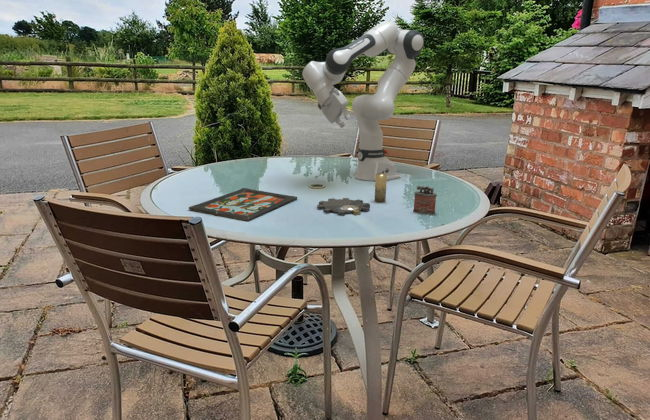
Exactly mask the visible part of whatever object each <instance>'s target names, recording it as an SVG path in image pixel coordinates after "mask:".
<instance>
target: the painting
mask: <svg viewBox="0 0 650 420" xmlns="http://www.w3.org/2000/svg"><path fill="white" fill-rule="evenodd" d="M297 200H298V196H295V195H294V196H293V195H287V194H282V193H275V192H271V191H264V190H259V189H252V188H247V187H242V188H240V189H238V190H236V191H232V192H229V193H227V194H224V195H221V196H218V197H215V198H212V199H209V200H206V201H203V202H200V203H198V204H197V203H196V204H195V205H191V206H188V209H189V211H195V212H198V213H203V214H208V215H209V214H210V215H213V216H215V217H218V216H219V217H225V218H229V219H234V220H239V221H244V222H249V221H252V220H254V219H256V218H259V217H260V216H263V215H265V214H268V213H271V212H273V211H276V210H278V209H280V208H282V207H284V206H285V207H286V205H289V204H291V203H293V202H295V201H297Z"/></svg>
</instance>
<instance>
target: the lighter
mask: <svg viewBox="0 0 650 420" xmlns="http://www.w3.org/2000/svg"><path fill="white" fill-rule="evenodd" d="M416 190H418V191H414V202H413V209H412V210H413V213H416V214H422V215H436V201H437V193H436V192H434V191H435V190H434V187H431V186H428V185H426V186H424V185H417V186H416Z"/></svg>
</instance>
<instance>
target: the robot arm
mask: <svg viewBox="0 0 650 420" xmlns="http://www.w3.org/2000/svg"><path fill="white" fill-rule="evenodd" d="M424 46H425V37H424V34H423V33H421V32H420V31H418V30H415V29H399V28H398V26H397V24H396V23H395V22H393V21H392V20H386V21H383V22H381V23H379V24H376V25H375V26H373V27H371V28H370V29H369V30H368V31H365V33H364V34H362V35H361V36H360V37H359V38H356V39H355V40H354V41H351V42H350V43H349V44H347V45H345V46H342V47H338V48H334V49H332V50H329V52H328V53H327V55H326V58H325V60H324V61H314V60H311V61H309V62H308V63H306V65H305V66H304V67H303V69H302V73H301V76H302V77H303V80H304V81H305V83H306V85H307V86H308V88H309V89H310V90H311V91H312V92H313V93H314V96H315V98H316V101H317V107H318V109H319V111H322V114H323V115H324V116H325V118H326V119H327V121H328V122H329V123H331V124H333V123H336V125H338V126H339V127H340V128H341V129H343V128H344V127H345V126H346V124H345V123H344V121H342V120H341V118H340V117H341V116H342V114H343V115H344V118H345V120H346V121H348V120H349V119H351V115H350V114H349V110H348V108H347V106H348V104H349V101H348V99H347V98H346V97H345V95H344V94H343V93H342V91H340V90H339V89H337V88H336V87H335V85H337V84H339V83H340V82H341V81H342V80H343V78H344V77H345V74H346V72H347V70H348V69H349V67H350V65H351V64H352V62H353V61H354V60H356V59H357V58H358V57H360V56H361V55H365V56H367V57H369V58H374V57H376V56H378V55H380V54H382V53H383V52H384V51H385V52H386V53H387V54H390V55H394V58H393V61H392V62H391V64H390V65H389V66H388V67H387V68H386V70H385V71H384V72H383V74H382V75H381V76H380V78H378V80H377V90H376V91H375V92H374V93H373V94H360V95H358V96H356V97H355V98H354V99H353V100H352V104H351V109H352V112H353V113H354V115H355V117H356V121H357V124H358V130H359V140H358V141H359V142H358V143H359V145H358V150H357V159H358V161H357V168H356V171H355V175H354V177H355V179H358V180H361V181H362V180H363V181H371V182H375V179H376V174H377V173H384V174H387V181H389V180H395V179H399V178H401V175H400V173H397V169H396V165H395V163H394V162H393V161H392V160H390V159H389V158H388V157H387V156H386V155H389V153H390V150H389V149H384V148H383V143H384V132H383V130H382V129H381V126H380V123H379V121H380V122H381V121H387V120H389V119H390V118H392V116H393V115H394V113H395V108H396V107H395V100H396V97H398V94H399V93H400V92H401V90H403V87H404V86H405V85H406V83H408V81H409V79H410V78H411V76H412V74H413V72H414V71H415V68H416V65H417V62H416V60H415V59H417V58H418V57H420V53H421V52H422V50H423V48H424Z"/></svg>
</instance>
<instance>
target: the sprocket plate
mask: <svg viewBox="0 0 650 420" xmlns="http://www.w3.org/2000/svg"><path fill="white" fill-rule="evenodd" d="M316 207H317V210H318V211H319V210H323V211H322V212H323V213H325V214H331V213H332V214H337V216H341V217H342V216H343V217H344V216H345V215H353V216H358V215H359V216H360V215H361V214H362V212H363V213H368V212H369V211H371V204H370V203H369V202H364V200H362V199H356V200H355V199H350V198H349V197H343V198H339V199H336V198H334V197H332V198H328V200H327V201H326V200H320V201H319V202H318V204H317V205H316Z"/></svg>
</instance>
